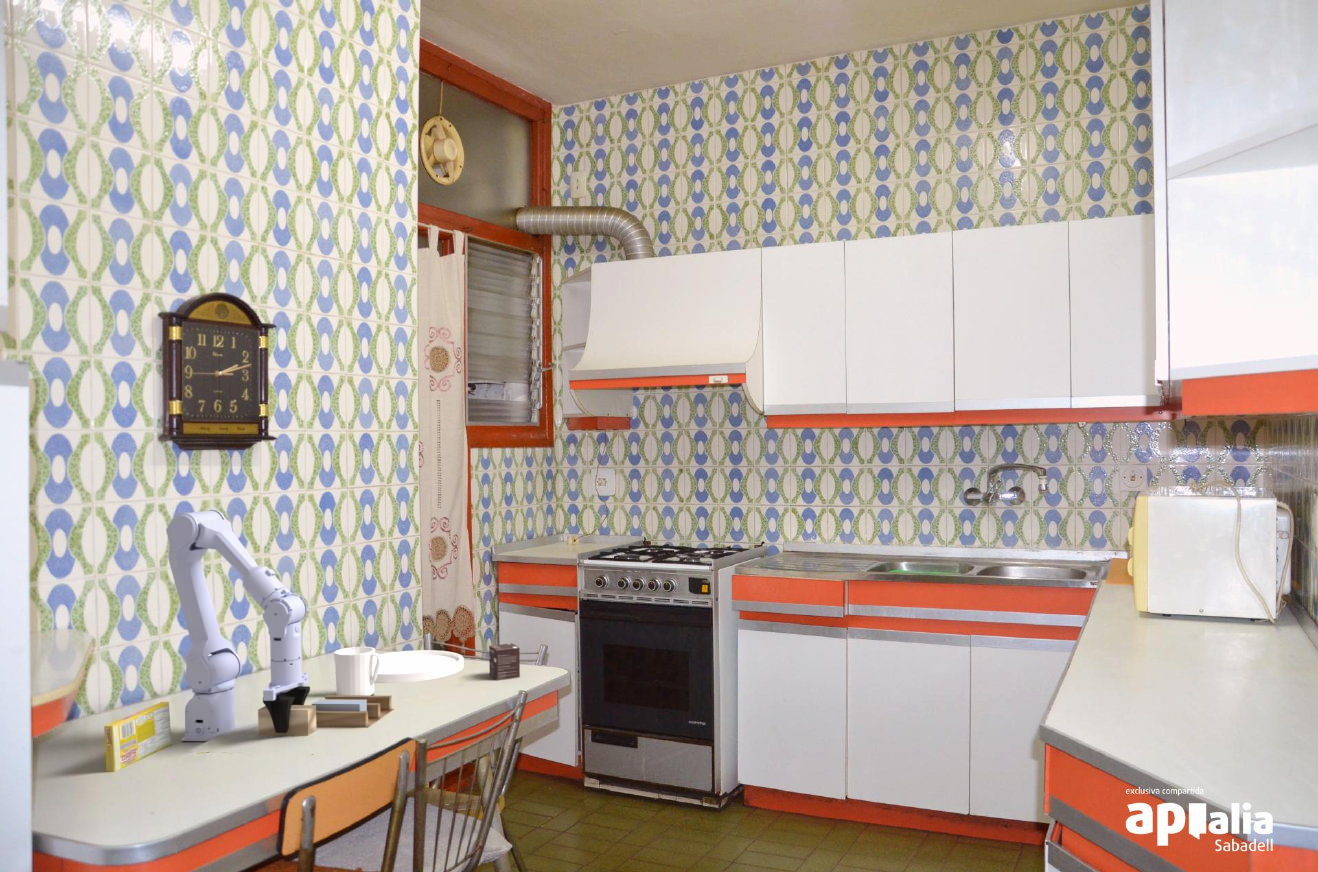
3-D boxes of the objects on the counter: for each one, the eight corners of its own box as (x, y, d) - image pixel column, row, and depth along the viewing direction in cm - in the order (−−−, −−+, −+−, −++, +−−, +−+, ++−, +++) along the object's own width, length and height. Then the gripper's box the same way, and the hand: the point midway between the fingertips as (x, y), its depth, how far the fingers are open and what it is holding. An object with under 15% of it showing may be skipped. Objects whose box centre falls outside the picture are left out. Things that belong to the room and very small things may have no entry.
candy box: (162, 744, 194) (161, 701, 194) (172, 744, 194) (171, 701, 194) (104, 771, 178) (103, 724, 178) (115, 772, 178) (114, 724, 178)
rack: (367, 732, 199) (367, 712, 199) (294, 731, 200) (294, 712, 200) (394, 713, 213) (394, 695, 213) (326, 712, 214) (325, 694, 214)
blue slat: (360, 724, 201) (359, 703, 201) (311, 723, 202) (311, 703, 202) (367, 719, 205) (366, 699, 205) (319, 718, 206) (319, 699, 206)
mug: (327, 700, 225) (326, 654, 225) (348, 690, 234) (347, 646, 234) (371, 702, 222) (370, 655, 223) (391, 692, 231) (390, 647, 231)
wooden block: (308, 741, 194) (307, 709, 194) (258, 740, 195) (258, 709, 195) (316, 735, 198) (315, 705, 198) (267, 735, 199) (266, 704, 199)
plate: (332, 685, 241) (331, 675, 241) (369, 660, 269) (369, 650, 269) (448, 683, 240) (448, 673, 240) (474, 658, 268) (474, 649, 268)
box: (489, 675, 246) (488, 645, 246) (513, 672, 249) (512, 642, 249) (496, 680, 241) (495, 649, 241) (520, 677, 243) (519, 647, 243)
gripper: (288, 666, 189) (289, 739, 189) (322, 650, 203) (323, 718, 203) (252, 666, 190) (253, 739, 190) (288, 650, 204) (290, 718, 204)
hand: (287, 728), depth 196 cm, fingers open, 4 cm apart
